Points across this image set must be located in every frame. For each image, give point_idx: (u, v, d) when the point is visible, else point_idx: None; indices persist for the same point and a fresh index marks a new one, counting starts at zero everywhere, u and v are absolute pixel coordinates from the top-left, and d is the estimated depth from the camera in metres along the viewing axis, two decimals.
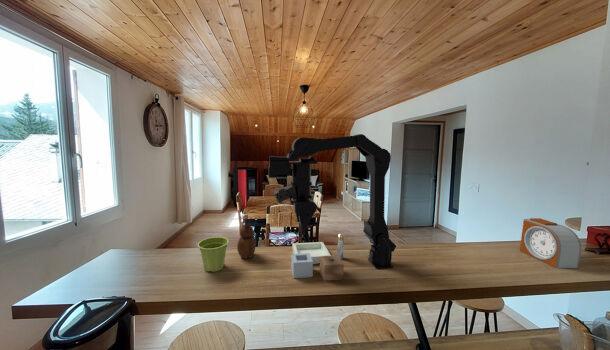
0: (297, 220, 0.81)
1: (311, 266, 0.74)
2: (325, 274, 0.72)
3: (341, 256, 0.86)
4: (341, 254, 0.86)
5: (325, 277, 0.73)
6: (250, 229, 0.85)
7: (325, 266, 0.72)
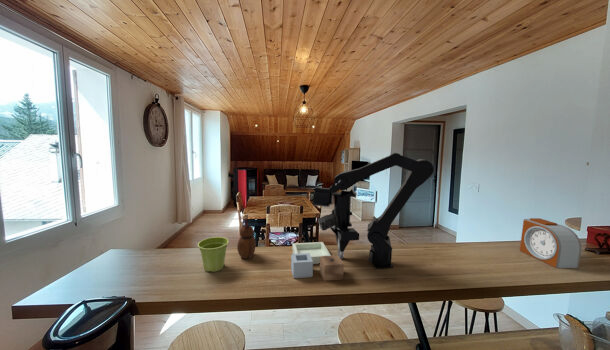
0: None
1: (311, 266, 0.74)
2: (325, 274, 0.72)
3: (341, 256, 0.86)
4: (341, 254, 0.86)
5: (325, 277, 0.73)
6: (250, 229, 0.85)
7: (325, 266, 0.72)
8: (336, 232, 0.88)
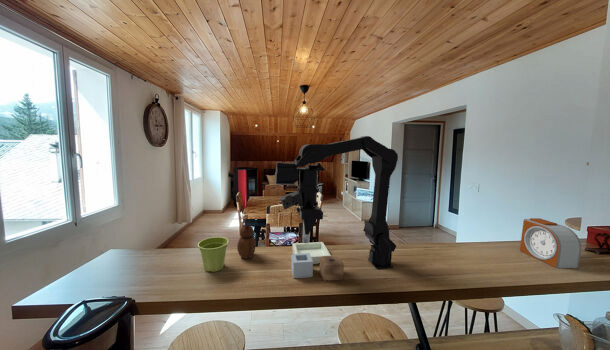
0: None
1: (311, 266, 0.74)
2: (325, 274, 0.72)
3: (306, 240, 0.76)
4: (306, 237, 0.76)
5: (325, 277, 0.73)
6: (250, 229, 0.85)
7: (325, 266, 0.72)
8: None
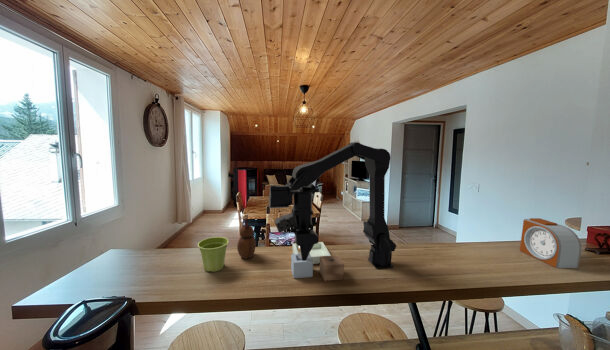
0: None
1: (311, 266, 0.74)
2: (325, 274, 0.72)
3: None
4: None
5: (325, 277, 0.72)
6: (250, 229, 0.85)
7: (325, 266, 0.72)
8: (296, 231, 0.80)
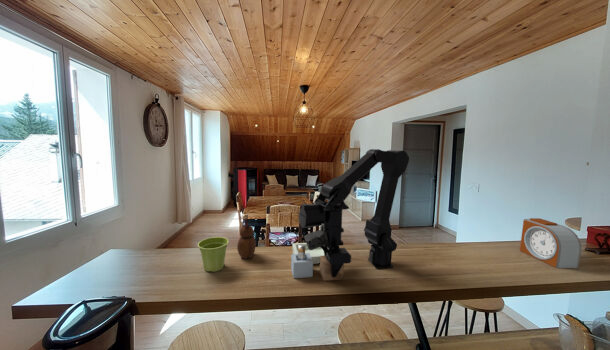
0: None
1: (311, 266, 0.74)
2: (325, 274, 0.72)
3: None
4: None
5: (325, 277, 0.73)
6: (250, 229, 0.85)
7: (325, 266, 0.72)
8: (324, 248, 0.78)
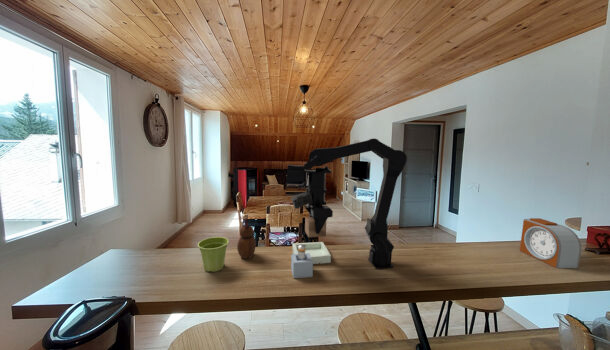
0: None
1: (311, 266, 0.74)
2: (309, 231, 0.80)
3: None
4: None
5: (309, 234, 0.80)
6: (250, 229, 0.85)
7: (309, 223, 0.80)
8: (309, 210, 0.86)
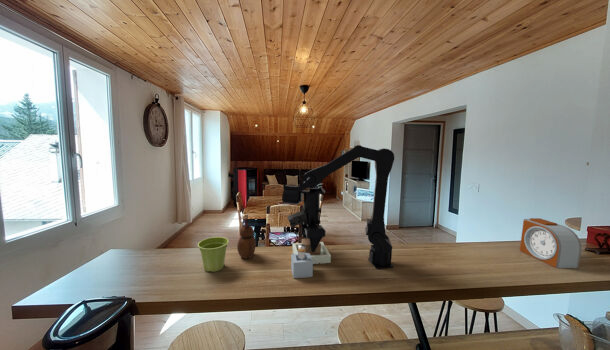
0: None
1: (311, 266, 0.74)
2: None
3: None
4: None
5: None
6: (250, 229, 0.85)
7: (305, 246, 0.85)
8: (305, 227, 0.92)
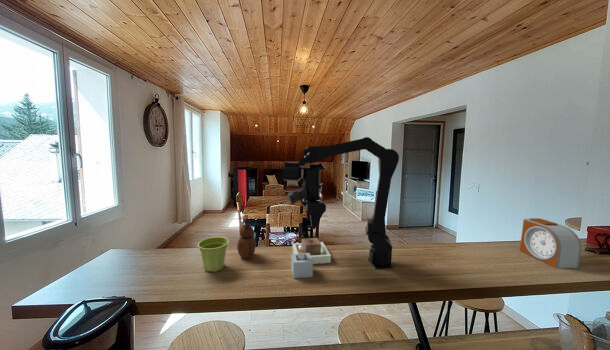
0: (307, 219, 0.91)
1: (311, 266, 0.74)
2: None
3: None
4: None
5: None
6: (250, 229, 0.85)
7: (305, 246, 0.85)
8: (305, 204, 0.91)
